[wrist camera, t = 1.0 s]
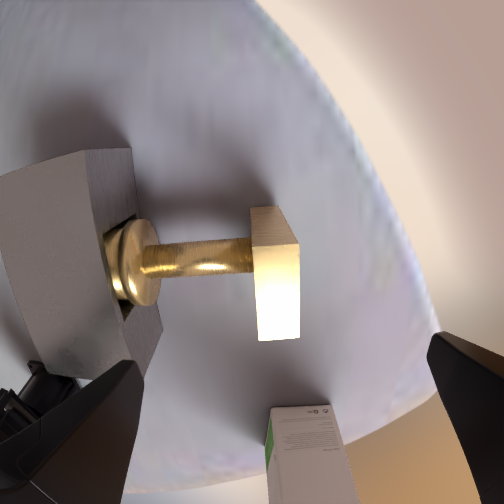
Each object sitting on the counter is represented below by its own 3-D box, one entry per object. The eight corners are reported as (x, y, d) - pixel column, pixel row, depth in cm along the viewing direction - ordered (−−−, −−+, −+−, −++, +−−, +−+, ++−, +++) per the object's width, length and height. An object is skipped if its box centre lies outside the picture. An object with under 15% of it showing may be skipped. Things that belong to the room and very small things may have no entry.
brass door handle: (93, 285, 21) (39, 342, 13) (77, 220, 19) (8, 258, 11) (281, 274, 21) (298, 344, 13) (277, 199, 19) (298, 233, 11)
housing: (81, 328, 22) (48, 373, 16) (43, 168, 18) (-13, 181, 12) (163, 330, 22) (141, 384, 16) (131, 147, 18) (84, 149, 12)
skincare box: (270, 404, 26) (283, 555, 11) (336, 402, 26) (376, 539, 11) (263, 448, 28) (270, 567, 14) (319, 445, 29) (341, 558, 14)
